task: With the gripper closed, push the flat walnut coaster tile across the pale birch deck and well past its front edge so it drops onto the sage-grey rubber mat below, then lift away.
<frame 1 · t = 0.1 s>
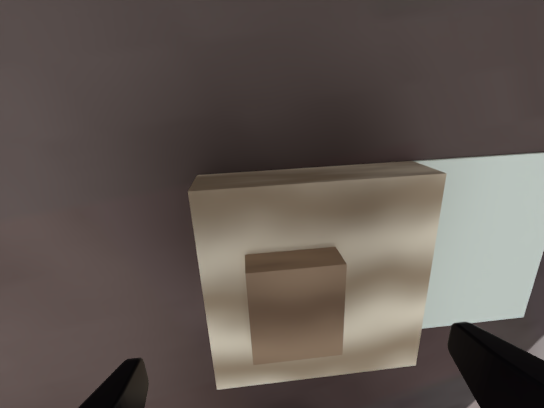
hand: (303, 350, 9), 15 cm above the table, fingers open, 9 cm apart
sage mat: (473, 247, 26), on the table
birch deck: (308, 262, 24), on the table
walnut tile: (291, 295, 21), point 4 cm above the table, touching birch deck
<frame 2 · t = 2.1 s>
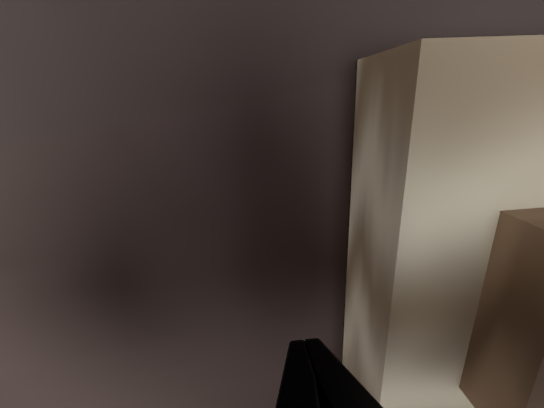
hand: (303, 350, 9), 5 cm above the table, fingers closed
birch deck: (513, 242, 14), on the table
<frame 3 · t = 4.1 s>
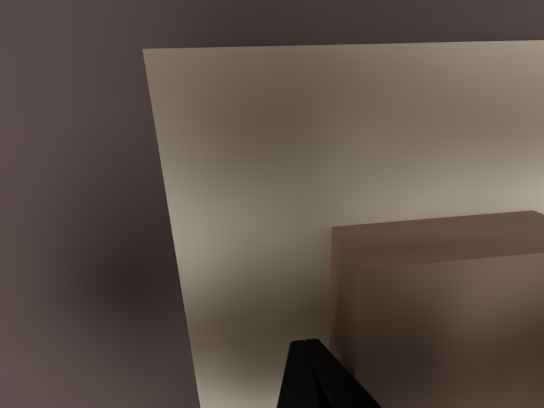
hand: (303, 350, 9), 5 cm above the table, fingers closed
birch deck: (383, 256, 13), on the table
walnut tile: (420, 317, 10), point 4 cm above the table, touching birch deck, gripper
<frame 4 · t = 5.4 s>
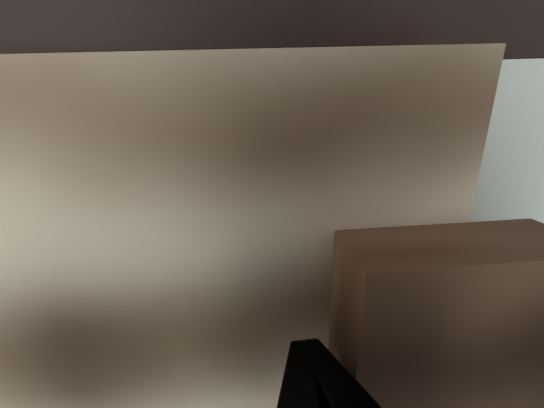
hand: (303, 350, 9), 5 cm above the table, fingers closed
sage mat: (523, 244, 14), on the table
birch deck: (215, 269, 13), on the table
walnut tile: (418, 322, 10), point 4 cm above the table, touching birch deck, gripper
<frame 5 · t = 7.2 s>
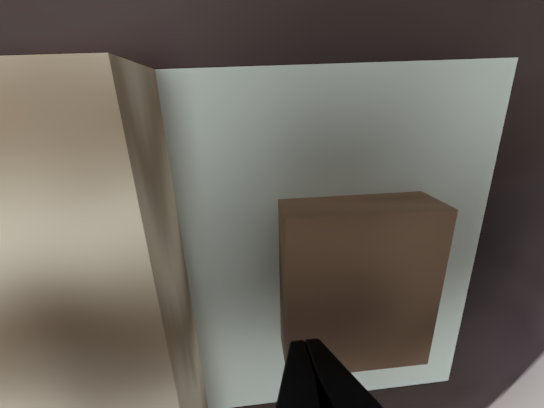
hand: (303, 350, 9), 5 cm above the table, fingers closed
sage mat: (335, 259, 13), on the table
walnut tile: (365, 301, 11), point 2 cm above the table, tilted 180°, touching sage mat
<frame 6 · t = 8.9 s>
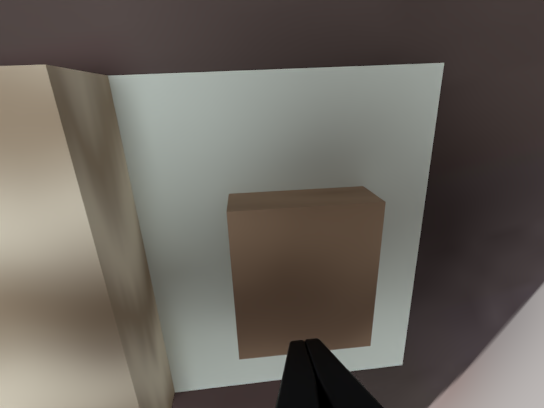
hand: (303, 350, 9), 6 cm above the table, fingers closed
sage mat: (287, 250, 14), on the table
walnut tile: (306, 286, 12), point 2 cm above the table, tilted 180°, touching sage mat
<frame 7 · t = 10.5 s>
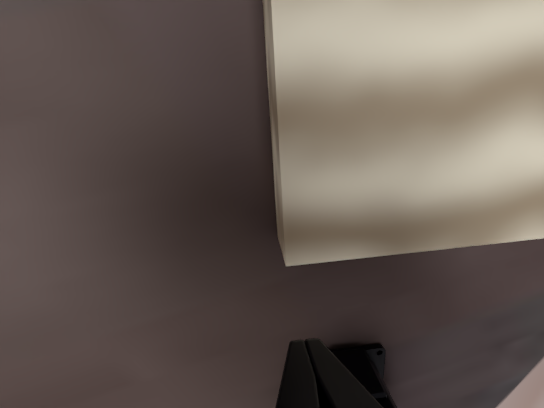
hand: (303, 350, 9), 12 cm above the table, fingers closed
birch deck: (397, 106, 18), on the table
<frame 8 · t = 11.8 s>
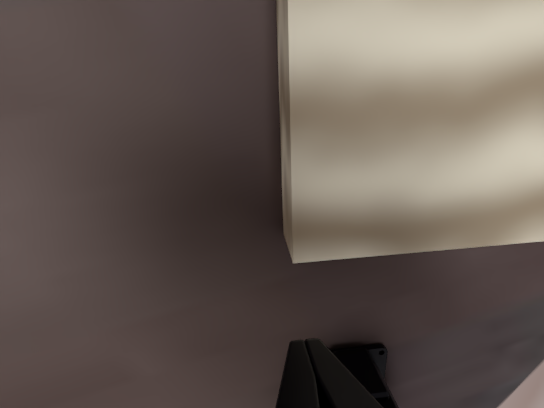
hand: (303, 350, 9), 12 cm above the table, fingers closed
birch deck: (407, 106, 18), on the table
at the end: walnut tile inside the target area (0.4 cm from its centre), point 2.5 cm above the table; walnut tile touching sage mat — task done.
